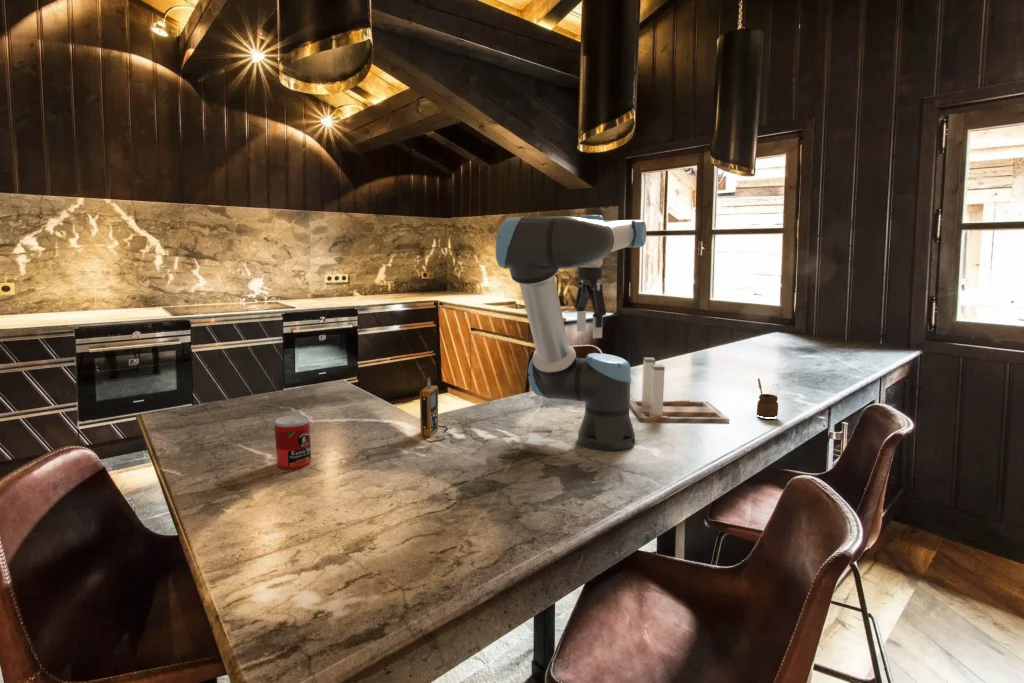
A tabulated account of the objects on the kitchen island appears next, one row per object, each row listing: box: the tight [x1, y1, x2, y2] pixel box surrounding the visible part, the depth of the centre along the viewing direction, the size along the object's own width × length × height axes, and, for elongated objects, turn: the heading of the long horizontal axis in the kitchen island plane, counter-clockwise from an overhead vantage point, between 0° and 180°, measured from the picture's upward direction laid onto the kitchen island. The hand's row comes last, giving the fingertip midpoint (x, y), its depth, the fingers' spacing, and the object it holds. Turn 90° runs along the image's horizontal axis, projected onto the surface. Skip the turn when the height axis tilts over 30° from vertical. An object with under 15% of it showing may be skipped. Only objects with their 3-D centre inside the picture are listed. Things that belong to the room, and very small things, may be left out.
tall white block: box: [641, 356, 656, 406], centre depth 183 cm, size 3×4×16 cm
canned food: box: [274, 414, 312, 471], centre depth 136 cm, size 8×8×11 cm
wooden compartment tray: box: [629, 399, 730, 425], centre depth 178 cm, size 26×20×3 cm
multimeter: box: [419, 361, 457, 443], centre depth 159 cm, size 15×10×20 cm
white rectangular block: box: [649, 364, 666, 417], centre depth 171 cm, size 3×4×16 cm
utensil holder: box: [756, 378, 780, 417], centre depth 177 cm, size 6×6×12 cm
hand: (589, 334), depth 180 cm, fingers open, 13 cm apart
